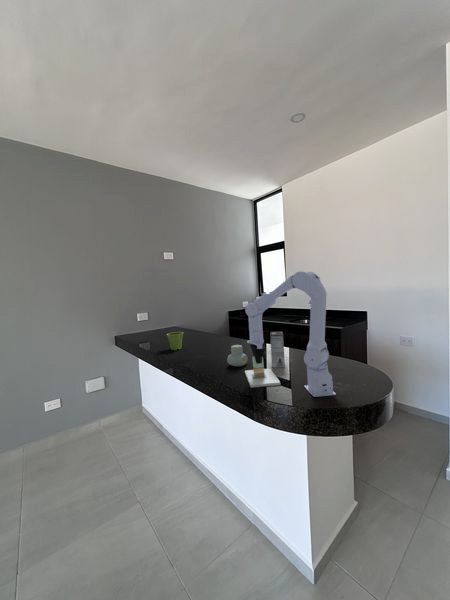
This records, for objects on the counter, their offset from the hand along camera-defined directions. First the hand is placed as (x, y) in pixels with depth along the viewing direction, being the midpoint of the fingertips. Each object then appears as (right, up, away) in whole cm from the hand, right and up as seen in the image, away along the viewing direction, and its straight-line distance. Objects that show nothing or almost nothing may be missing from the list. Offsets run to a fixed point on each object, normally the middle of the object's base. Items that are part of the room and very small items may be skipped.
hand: (257, 361), depth 108 cm
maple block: (+1, -6, 0) cm, 6 cm away
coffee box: (+13, -6, +18) cm, 23 cm away
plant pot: (-49, -8, +69) cm, 85 cm away
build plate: (+1, -7, 0) cm, 7 cm away
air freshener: (-8, -7, +22) cm, 24 cm away
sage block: (0, -2, 0) cm, 2 cm away
